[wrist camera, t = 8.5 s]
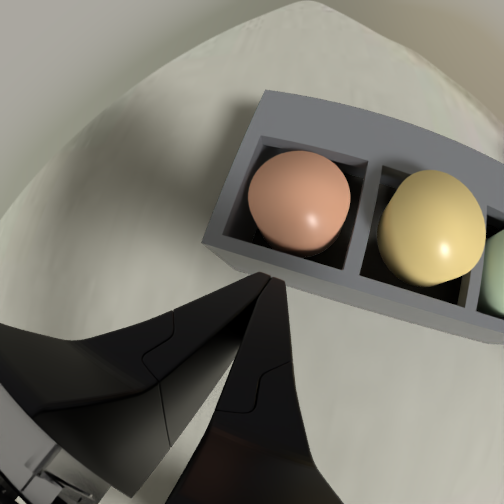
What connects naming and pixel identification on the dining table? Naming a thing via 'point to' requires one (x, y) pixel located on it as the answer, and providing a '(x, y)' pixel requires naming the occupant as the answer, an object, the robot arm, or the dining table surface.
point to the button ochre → (431, 230)
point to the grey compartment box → (374, 173)
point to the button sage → (492, 277)
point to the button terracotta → (299, 202)
